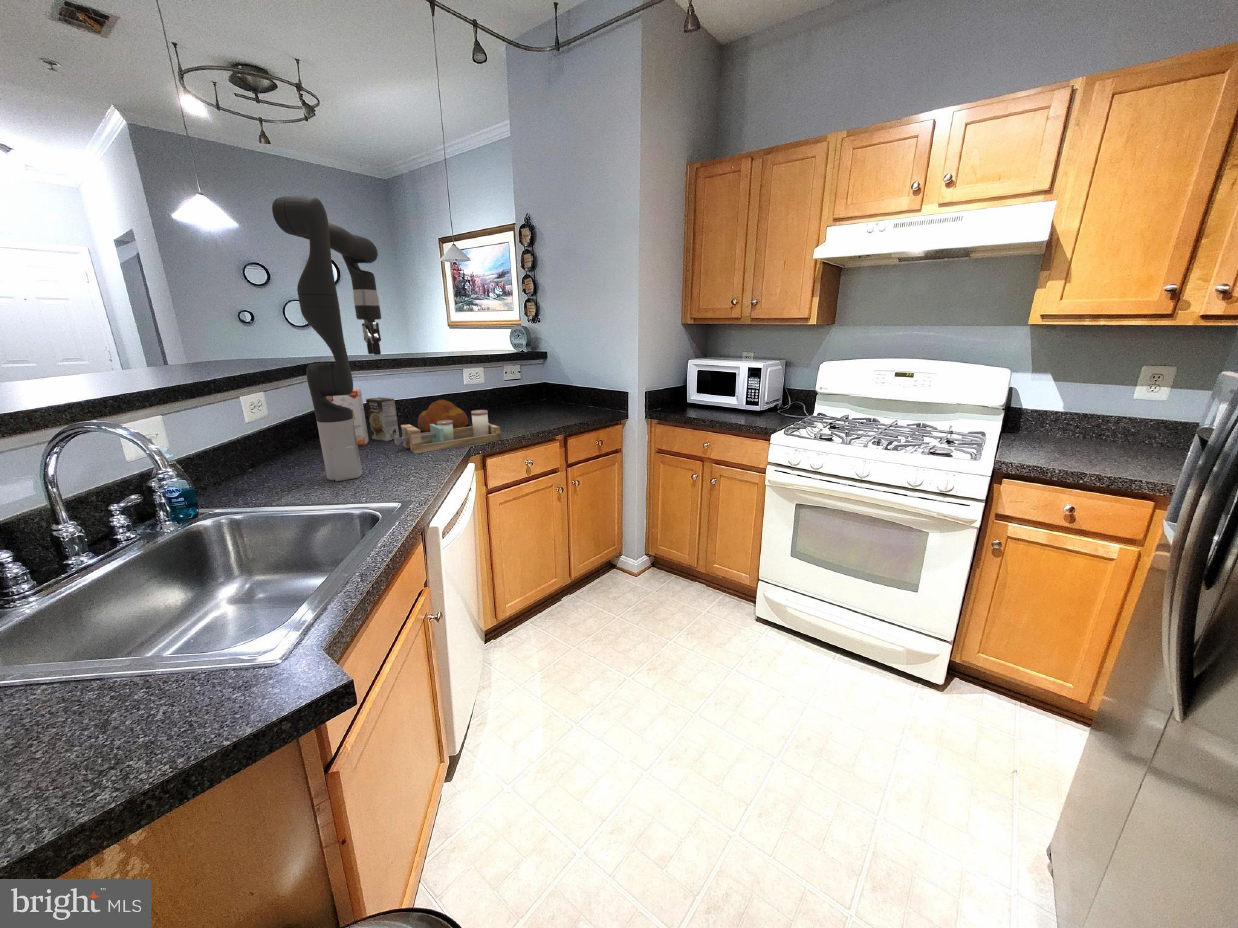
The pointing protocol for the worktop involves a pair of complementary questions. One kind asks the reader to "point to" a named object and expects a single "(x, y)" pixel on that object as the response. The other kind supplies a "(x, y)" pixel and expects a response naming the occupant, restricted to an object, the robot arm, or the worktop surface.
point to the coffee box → (382, 418)
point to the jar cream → (480, 422)
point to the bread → (442, 415)
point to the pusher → (426, 435)
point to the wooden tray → (417, 447)
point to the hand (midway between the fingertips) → (374, 354)
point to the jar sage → (446, 429)
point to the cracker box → (354, 413)
